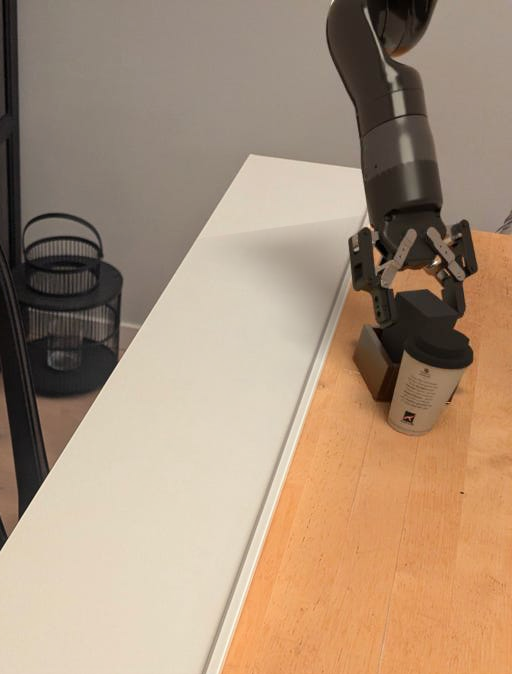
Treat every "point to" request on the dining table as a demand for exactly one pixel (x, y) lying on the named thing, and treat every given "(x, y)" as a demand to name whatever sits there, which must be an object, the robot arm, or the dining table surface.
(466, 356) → the coffee cup
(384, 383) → the open box
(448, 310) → the black rectangular block
